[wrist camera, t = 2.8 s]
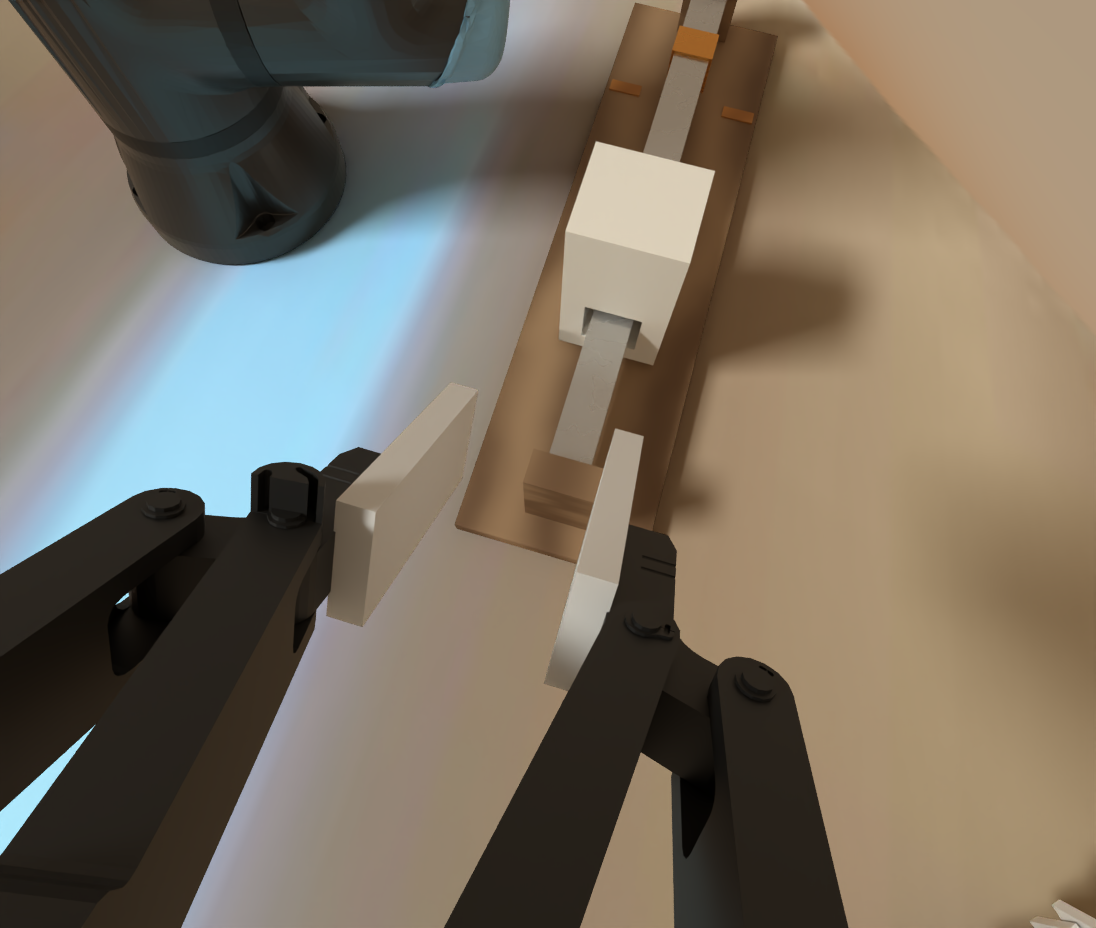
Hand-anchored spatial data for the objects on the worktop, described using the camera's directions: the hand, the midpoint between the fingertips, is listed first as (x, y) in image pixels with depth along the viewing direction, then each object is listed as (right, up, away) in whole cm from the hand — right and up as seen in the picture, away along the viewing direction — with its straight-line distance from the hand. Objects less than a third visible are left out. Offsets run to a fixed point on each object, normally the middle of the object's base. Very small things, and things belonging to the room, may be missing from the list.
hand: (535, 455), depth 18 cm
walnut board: (+7, +15, +32) cm, 36 cm away
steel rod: (+7, +17, +29) cm, 35 cm away
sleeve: (+5, +10, +29) cm, 31 cm away
